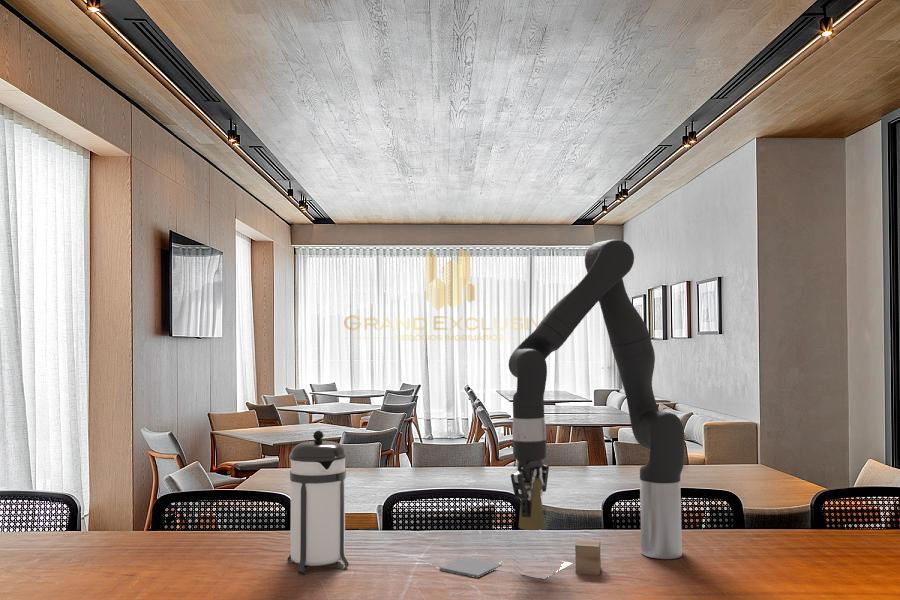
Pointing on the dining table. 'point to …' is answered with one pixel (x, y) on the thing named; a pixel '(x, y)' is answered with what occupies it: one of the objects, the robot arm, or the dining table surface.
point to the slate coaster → (470, 566)
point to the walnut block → (587, 556)
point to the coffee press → (317, 504)
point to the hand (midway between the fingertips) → (531, 514)
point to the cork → (534, 509)
